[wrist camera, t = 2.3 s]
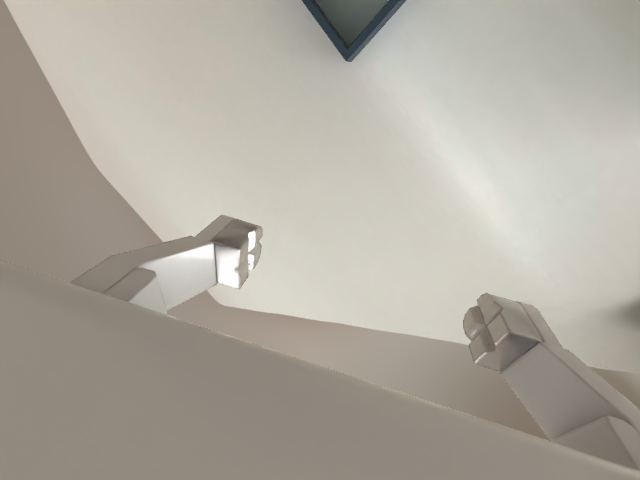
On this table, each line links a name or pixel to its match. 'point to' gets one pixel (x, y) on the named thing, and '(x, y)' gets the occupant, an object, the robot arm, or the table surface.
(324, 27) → the storage box
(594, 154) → the table surface
